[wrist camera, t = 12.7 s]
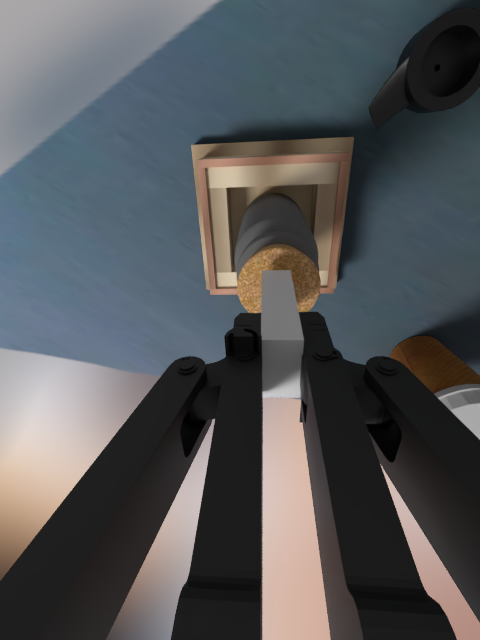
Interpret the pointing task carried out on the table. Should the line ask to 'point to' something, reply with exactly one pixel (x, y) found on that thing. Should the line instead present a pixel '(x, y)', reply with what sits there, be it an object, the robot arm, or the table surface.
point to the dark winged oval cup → (418, 68)
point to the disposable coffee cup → (443, 377)
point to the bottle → (276, 251)
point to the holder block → (270, 177)
